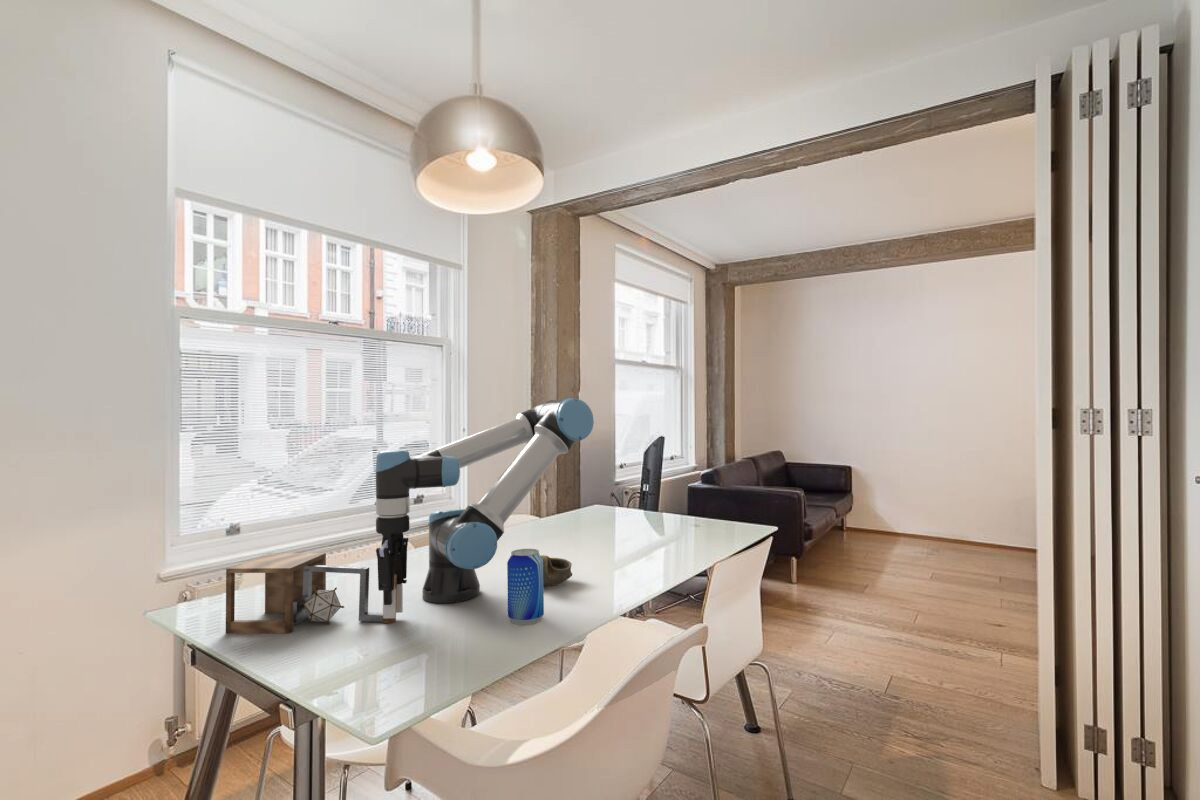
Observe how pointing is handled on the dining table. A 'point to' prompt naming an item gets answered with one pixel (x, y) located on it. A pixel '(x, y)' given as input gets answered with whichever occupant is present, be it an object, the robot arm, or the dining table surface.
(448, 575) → the robot arm
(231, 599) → the shelf lane
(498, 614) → the dining table surface
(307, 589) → the pull yoke
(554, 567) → the brown rounded hollow piece
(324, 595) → the game die
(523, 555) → the beer can
